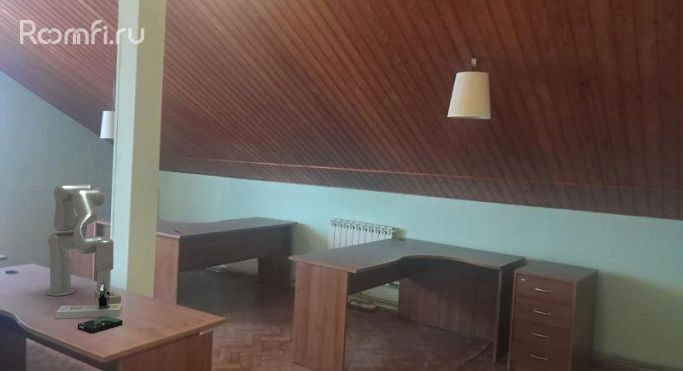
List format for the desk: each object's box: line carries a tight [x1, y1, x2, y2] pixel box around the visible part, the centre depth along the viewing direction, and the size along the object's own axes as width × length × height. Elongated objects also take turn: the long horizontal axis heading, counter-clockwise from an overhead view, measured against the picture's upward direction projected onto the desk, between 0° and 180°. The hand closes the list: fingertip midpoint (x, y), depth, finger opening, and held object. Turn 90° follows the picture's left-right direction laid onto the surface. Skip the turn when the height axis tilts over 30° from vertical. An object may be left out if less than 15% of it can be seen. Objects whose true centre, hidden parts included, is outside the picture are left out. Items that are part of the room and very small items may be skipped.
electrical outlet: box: [94, 289, 122, 304], centre depth 285 cm, size 7×4×18 cm
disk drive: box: [77, 316, 123, 335], centre depth 244 cm, size 10×3×15 cm
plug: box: [100, 294, 109, 309], centre depth 262 cm, size 4×4×8 cm
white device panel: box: [55, 303, 123, 320], centre depth 261 cm, size 10×26×3 cm, turn 105°
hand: (104, 303), depth 262 cm, fingers open, 9 cm apart
